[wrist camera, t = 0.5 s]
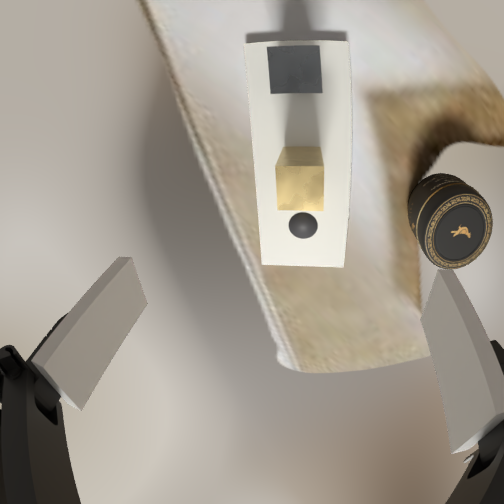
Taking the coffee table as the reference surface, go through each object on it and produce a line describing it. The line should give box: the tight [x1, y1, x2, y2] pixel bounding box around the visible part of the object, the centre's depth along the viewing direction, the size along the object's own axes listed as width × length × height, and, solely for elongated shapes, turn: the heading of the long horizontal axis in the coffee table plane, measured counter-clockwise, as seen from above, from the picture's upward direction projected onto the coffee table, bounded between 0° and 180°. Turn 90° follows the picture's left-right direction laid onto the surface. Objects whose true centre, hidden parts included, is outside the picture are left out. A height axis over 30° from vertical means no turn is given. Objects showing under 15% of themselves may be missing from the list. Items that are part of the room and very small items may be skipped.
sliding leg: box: [275, 146, 324, 211], centre depth 27 cm, size 4×4×8 cm
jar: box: [408, 173, 493, 269], centre depth 28 cm, size 10×10×8 cm
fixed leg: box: [267, 45, 323, 94], centre depth 22 cm, size 4×4×9 cm
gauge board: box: [243, 40, 352, 267], centre depth 31 cm, size 28×11×2 cm, turn 5°
